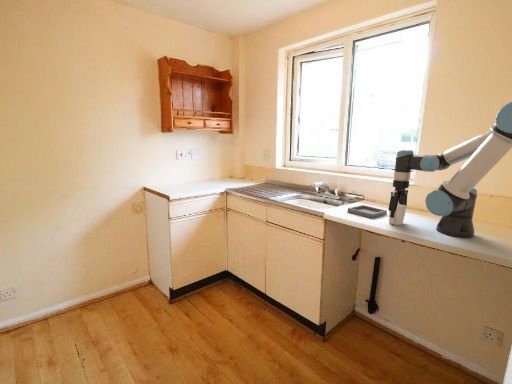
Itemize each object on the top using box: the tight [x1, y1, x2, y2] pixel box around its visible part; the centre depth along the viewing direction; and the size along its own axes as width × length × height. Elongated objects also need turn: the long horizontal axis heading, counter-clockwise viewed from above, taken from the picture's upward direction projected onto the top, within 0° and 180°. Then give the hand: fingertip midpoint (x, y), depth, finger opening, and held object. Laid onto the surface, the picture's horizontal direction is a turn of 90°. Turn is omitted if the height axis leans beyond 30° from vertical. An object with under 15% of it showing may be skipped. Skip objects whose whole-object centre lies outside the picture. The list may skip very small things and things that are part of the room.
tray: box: [347, 204, 388, 219], centre depth 167 cm, size 16×16×2 cm
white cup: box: [388, 203, 407, 226], centre depth 148 cm, size 8×8×10 cm
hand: (395, 221), depth 149 cm, fingers closed on white cup, 7 cm apart
